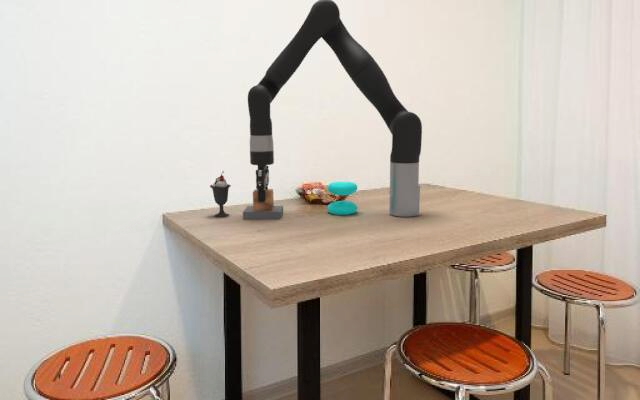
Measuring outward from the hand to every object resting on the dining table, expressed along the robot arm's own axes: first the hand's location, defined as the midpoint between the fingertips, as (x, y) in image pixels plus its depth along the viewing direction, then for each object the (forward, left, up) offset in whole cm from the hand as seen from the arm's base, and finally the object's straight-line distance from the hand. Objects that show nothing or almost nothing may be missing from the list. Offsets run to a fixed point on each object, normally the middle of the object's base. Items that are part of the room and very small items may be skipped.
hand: (263, 199), depth 158 cm
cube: (0, 0, -3) cm, 3 cm away
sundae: (+14, -2, -6) cm, 15 cm away
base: (0, 0, -6) cm, 6 cm away
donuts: (-26, -4, -6) cm, 27 cm away
